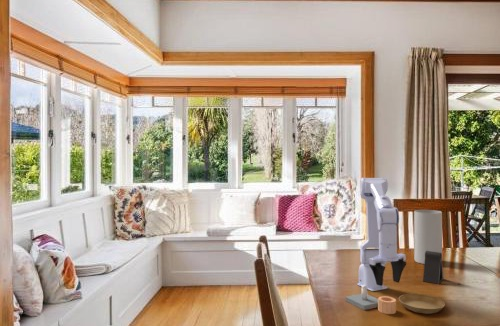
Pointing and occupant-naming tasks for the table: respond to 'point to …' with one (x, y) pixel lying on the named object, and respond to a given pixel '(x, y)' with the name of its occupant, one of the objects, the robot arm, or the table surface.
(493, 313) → the table surface
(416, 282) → the table surface
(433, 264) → the phone stand
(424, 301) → the plant saucer
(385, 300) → the ring
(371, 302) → the post base
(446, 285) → the table surface
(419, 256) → the cylinder vase
